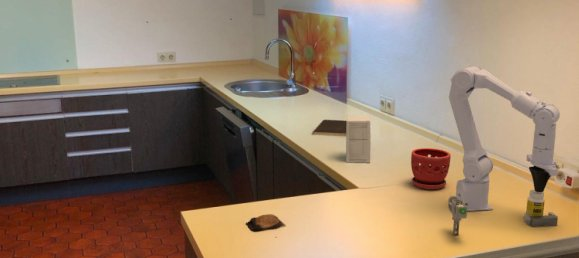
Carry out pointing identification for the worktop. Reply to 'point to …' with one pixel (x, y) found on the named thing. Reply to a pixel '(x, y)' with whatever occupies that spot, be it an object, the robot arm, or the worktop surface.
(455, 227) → the mechanical component
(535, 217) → the jig
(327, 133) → the hardcover book
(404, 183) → the worktop surface
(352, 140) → the beige miniature cabinet
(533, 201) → the supplement bottle
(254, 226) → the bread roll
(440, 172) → the plant pot
